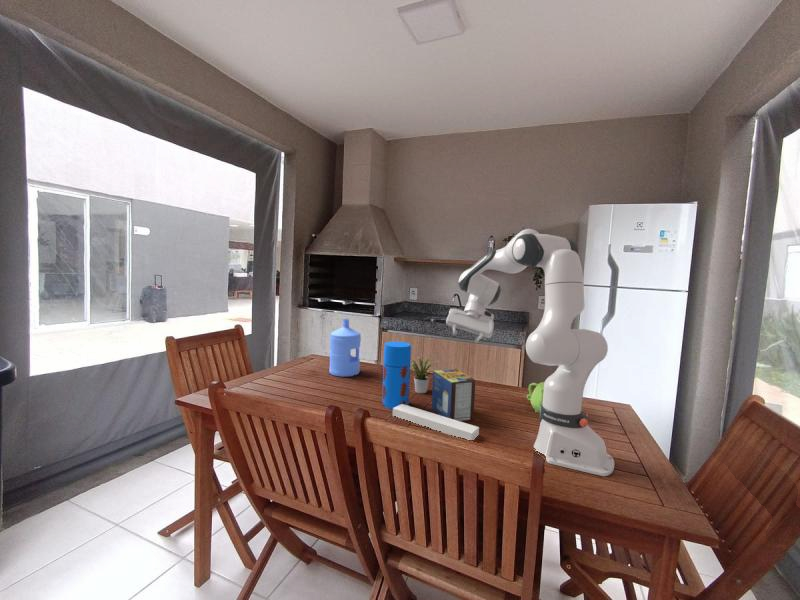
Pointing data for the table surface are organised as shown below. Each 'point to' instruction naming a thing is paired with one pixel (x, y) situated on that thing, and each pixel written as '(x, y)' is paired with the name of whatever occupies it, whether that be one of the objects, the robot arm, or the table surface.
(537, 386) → the teapot
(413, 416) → the board
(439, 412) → the protein box
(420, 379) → the house plant
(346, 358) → the water jug
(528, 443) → the table surface
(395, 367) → the thermos
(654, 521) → the table surface
